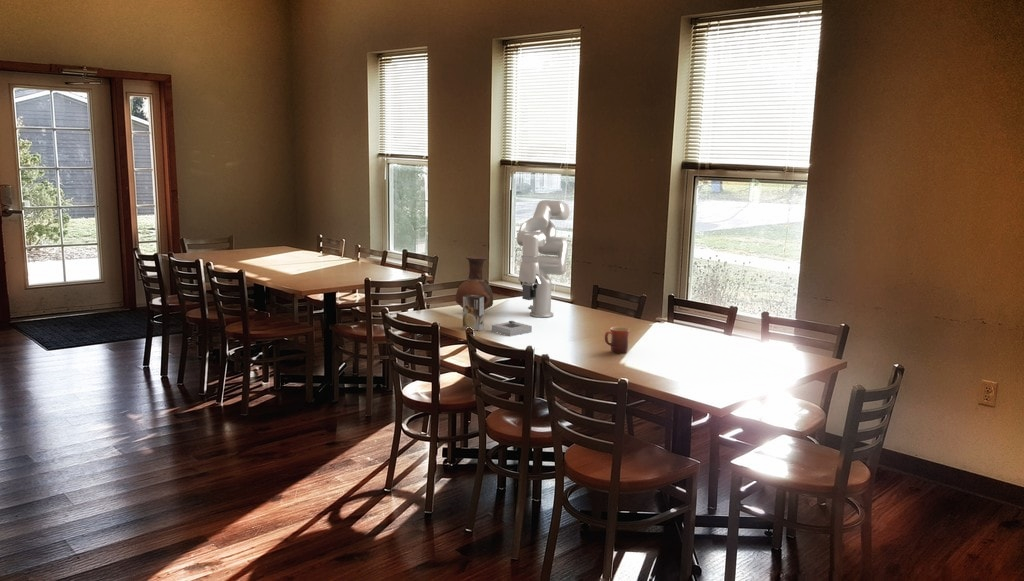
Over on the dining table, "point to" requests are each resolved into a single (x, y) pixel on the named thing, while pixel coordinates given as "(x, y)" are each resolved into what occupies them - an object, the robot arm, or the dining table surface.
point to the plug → (527, 292)
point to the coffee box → (473, 312)
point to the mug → (618, 339)
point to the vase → (475, 283)
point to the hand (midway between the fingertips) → (529, 295)
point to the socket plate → (511, 328)
